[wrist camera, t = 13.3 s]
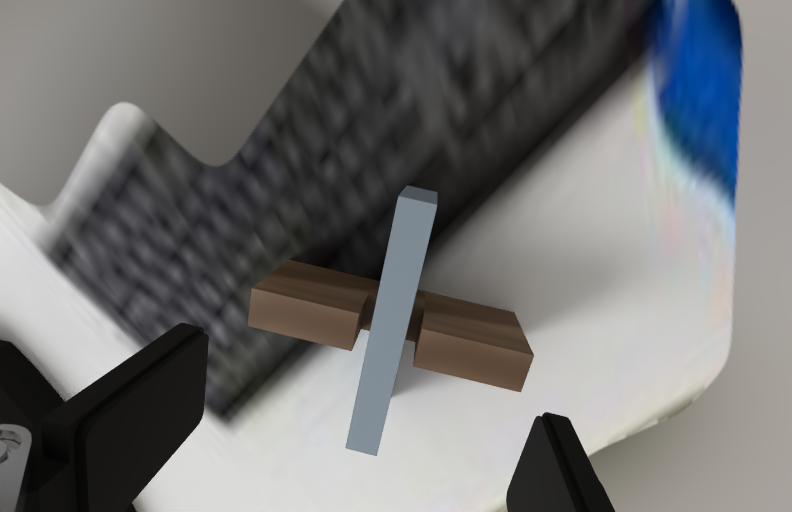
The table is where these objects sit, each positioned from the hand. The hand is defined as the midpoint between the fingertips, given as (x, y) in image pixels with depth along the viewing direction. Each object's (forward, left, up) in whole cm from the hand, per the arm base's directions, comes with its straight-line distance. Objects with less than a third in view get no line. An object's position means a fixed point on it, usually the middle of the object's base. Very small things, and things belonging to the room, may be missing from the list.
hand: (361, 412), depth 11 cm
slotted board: (+6, 0, -22) cm, 23 cm away
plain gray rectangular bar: (+6, 0, -22) cm, 23 cm away
